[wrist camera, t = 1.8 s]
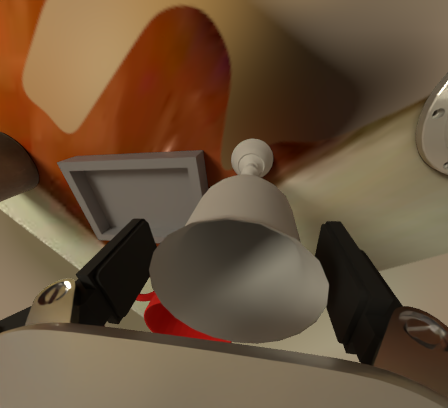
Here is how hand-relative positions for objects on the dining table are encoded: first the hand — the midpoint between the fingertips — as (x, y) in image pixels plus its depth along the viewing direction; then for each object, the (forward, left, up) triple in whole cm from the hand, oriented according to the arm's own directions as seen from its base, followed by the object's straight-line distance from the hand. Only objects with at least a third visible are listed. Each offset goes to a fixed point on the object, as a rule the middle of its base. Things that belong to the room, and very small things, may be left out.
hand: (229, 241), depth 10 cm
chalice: (-1, 0, -15) cm, 15 cm away
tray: (+15, +5, -15) cm, 22 cm away
